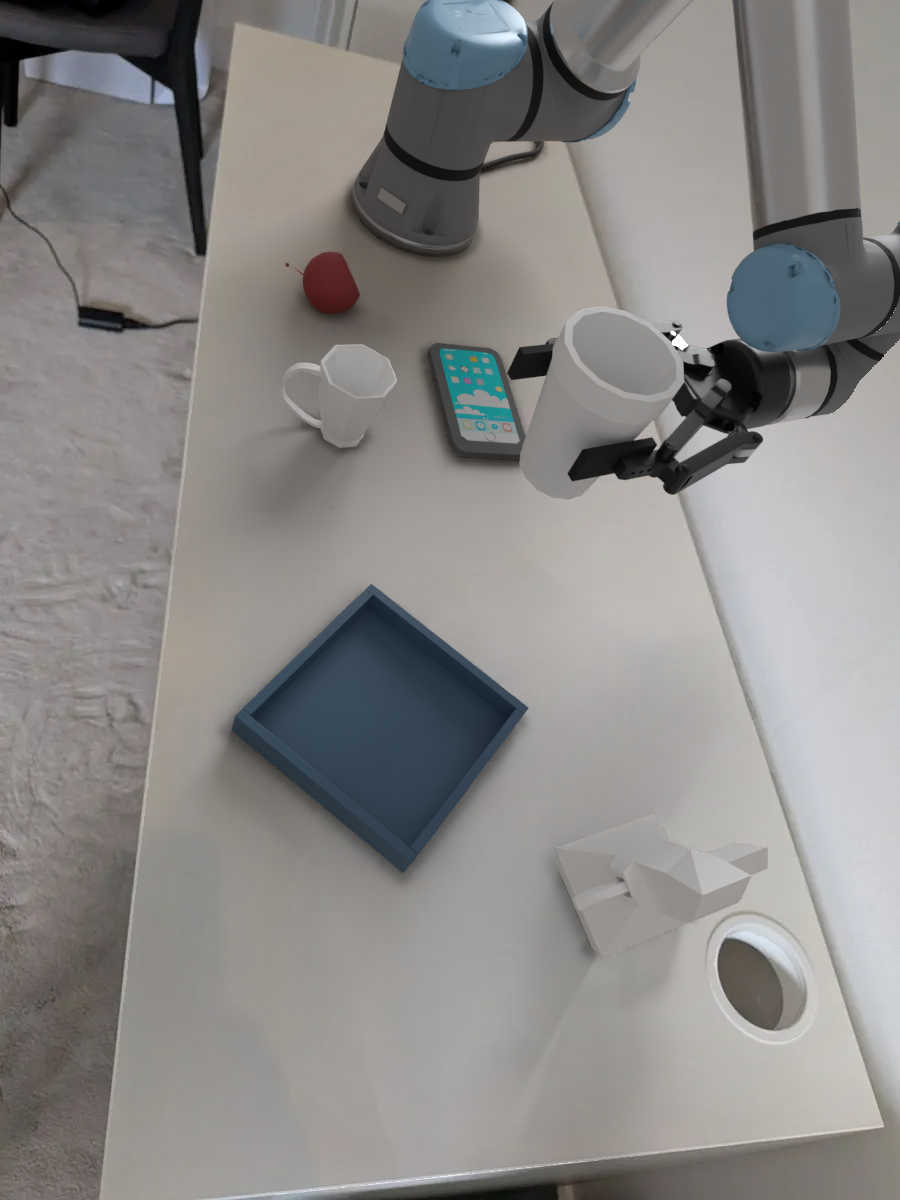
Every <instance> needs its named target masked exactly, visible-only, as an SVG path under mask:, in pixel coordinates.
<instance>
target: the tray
mask: <svg viewBox="0 0 900 1200" xmlns="http://www.w3.org/2000/svg"><path fill="white" fill-rule="evenodd" d="M275 675H276V676H274V677H273V678H272V679H271V680H270V681H269V682H268V683H267V684H266V685H265V686H264V687H263V688H262V689H261V690H260V691H259V692H258V693H256V695H255V696H254V697H252V698H251V700H249V702H247V703H246V704H245V705H244V706H243V707H242V709H240V710H239V711H238V712H237V713H236V714H235V715H234V720H233V722H232V726H231V731H232V732H233V733H234V734H235V735H236V736H237V737H239V739H241V740H242V741H243V742H245V743H246V744H247V745H248V746H250V747H251V748H252V749H253V750H254V751H255V752H257V754H259V755H260V756H261V757H262V758H263V759H265V760H266V761H267V762H268V763H270V764H271V765H272V766H273V767H274V768H276V769H277V770H278V771H279V772H281V773H282V774H283V775H284V776H285V777H286V778H288V779H289V780H291V782H293V784H295V785H296V786H298V787H299V788H300V789H301V790H302V791H303V792H305V793H306V794H307V795H308V796H309V797H311V799H313V800H314V801H316V802H317V803H318V804H319V805H320V806H321V807H322V808H323V809H325V810H326V811H327V812H328V813H330V814H331V815H332V816H333V817H335V818H336V819H337V820H338V821H339V822H340V823H342V825H344V826H346V828H348V830H350V831H352V833H354V834H355V835H356V836H358V838H359V839H361V840H362V841H363V842H365V843H366V845H368V846H369V847H371V848H372V849H373V850H374V851H376V852H377V853H378V854H379V855H380V856H382V858H384V859H385V860H387V862H388V863H390V864H391V865H392V866H394V867H395V868H396V869H397V870H398V871H399V872H401V873H402V874H404V873H405V872H406V871H407V870H408V869H409V867H411V865H412V864H413V863H414V862H415V861H416V859H417V858H418V856H419V855H420V854H421V853H422V851H423V850H424V848H425V847H426V846H427V845H428V843H429V842H430V841H431V839H432V838H433V836H434V835H435V834H436V833H437V831H438V830H439V829H440V827H441V826H442V825H443V823H444V822H445V821H446V819H447V818H448V817H449V815H450V814H451V812H452V811H453V810H454V808H455V807H456V806H457V804H458V803H459V802H460V801H461V799H462V798H463V797H464V795H466V792H468V790H469V789H470V787H471V786H472V785H473V783H474V782H475V781H476V779H477V778H478V777H479V775H480V774H481V772H482V771H483V770H484V769H485V767H486V766H487V764H488V763H489V762H490V761H491V759H492V758H493V757H494V755H495V754H496V752H497V751H498V750H499V749H500V747H501V746H502V745H503V743H504V742H505V741H506V739H507V738H508V737H509V736H510V734H511V733H512V731H513V730H514V729H515V727H516V726H517V725H518V723H519V722H520V720H521V719H522V718H523V717H524V715H526V713H527V711H528V710H529V706H527V705H526V704H525V703H523V702H522V701H521V700H520V699H519V698H517V697H516V696H515V695H513V694H512V693H511V692H510V691H508V690H507V689H506V688H504V687H503V686H502V685H501V684H499V683H498V682H497V681H495V680H494V678H492V677H491V676H490V675H488V674H487V673H486V672H484V671H483V669H480V668H479V667H478V666H477V665H475V664H474V663H473V662H472V661H470V660H469V659H468V658H466V657H465V656H464V655H463V654H461V653H460V652H459V651H458V650H457V649H455V648H454V647H453V646H452V645H450V644H449V643H447V642H446V640H444V639H443V638H441V637H440V636H438V635H437V634H436V633H435V632H434V631H432V630H431V629H430V628H428V627H427V626H426V625H425V624H423V623H422V622H421V621H420V620H418V619H417V618H416V617H415V616H413V615H412V614H411V613H410V612H408V611H407V610H406V609H404V608H403V607H402V606H400V605H399V604H398V603H397V602H396V601H394V600H393V599H392V598H391V597H389V595H387V594H385V593H384V592H383V591H382V590H380V589H379V588H378V587H377V586H375V585H374V584H373V583H371V584H369V585H368V586H367V587H366V588H365V589H364V590H363V591H362V592H361V593H360V594H359V595H357V597H356V598H355V599H354V600H353V601H352V602H351V603H350V604H349V605H348V606H346V607H345V608H344V609H343V610H342V611H341V612H340V613H339V614H338V615H337V616H336V617H335V618H334V619H333V620H332V621H331V622H330V623H329V624H328V625H326V627H325V628H324V629H323V630H322V631H320V633H319V634H318V635H317V636H315V637H314V638H313V639H312V640H311V641H310V642H309V643H308V644H307V645H306V646H305V647H304V648H303V649H302V650H301V651H299V653H298V654H297V655H296V656H295V657H293V659H292V660H291V661H290V662H289V663H288V664H286V665H285V666H284V668H282V670H281V671H279V672H278V674H275Z"/></svg>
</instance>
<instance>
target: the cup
mask: <svg viewBox="0 0 900 1200" xmlns="http://www.w3.org/2000/svg"><path fill="white" fill-rule="evenodd" d="M299 372H306V373H309V374H311V375H313V376H316V377H318V378H319V387H318V388H319V389H318V407H319V414H320V415H319V416H320V419H316V418H315V417H312V416H311V415H309V414H308V413H306V412H305V411H304V410H302V409H301V407H299V406H298V405H297V404H296V403H294V401H292V400H291V398H290V397H289V396H288V395H287V394H286V390H285V385H286V383H287V381H288V379H289V378H290V377H291V376H292V375H295V374H297V373H299ZM282 376H283V377H282V378H281V382H280V384H279V390H278V391H279V395H280V400H281V401H282V403H283V404H284V406H285V407H286V408H287V409H289V411H290V412H292V413H293V414H294V415H295V416H296V417H298V418H299V419H300V420H301V421H303V422H304V423H306V424H308V425H309V426H311V427H313V428H317V429H320V433H321V435H322V438H323V440H324V441H326V442H328V443H330V444H332V445H333V446H335V447H337V448H339V449H343V448H356V447H357V446H358V445H359V444H360V442H361V441H362V440H363V438H364V437H365V435H366V431H367V430H368V429H369V428H370V426H371V425H372V423H373V422H374V421H375V419H376V418H377V417H378V416H379V415H380V413H381V410H382V409H383V407H384V406H385V404H386V401H387V399H388V398H389V397H390V395H391V393H392V391H394V388H395V386H396V385H397V382H398V378H397V376H396V373H395V371H394V368H393V366H392V364H391V361H390V359H389V358H388V357H386V356H384V355H383V354H381V353H379V352H377V351H376V350H374V349H373V348H370V347H369V346H367V345H365V344H357V343H356V344H334V345H333V347H332V348H331V349H330V350H329V351H328V352H327V353H326V354H325V356H323V357H322V359H320V364H317V363H312V362H297V363H295V364H293V365H291V366H290V367H288V368H287V370H286V371H285V373H284V374H283V375H282Z"/></svg>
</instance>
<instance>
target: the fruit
mask: <svg viewBox="0 0 900 1200" xmlns="http://www.w3.org/2000/svg"><path fill="white" fill-rule="evenodd" d="M290 266H291V267H292V268H294V269H295V271H297V272H298V273H299V274H300V275H302V288H303V292H304V295H305V297H306V299H307V300H308V302H309V304H310V305H311V306H312V308H314V310H316V311H318V312H321V313H323V314H326V315H327V314H328V315H337V314H342V313H344V312H347V311H348V310H351V308H352V307H354V305H355V304H357V302H358V300H359V298H360V296H361V292H360V290H359V288H358V285H357V283H356V280H355V278H354V277H353V274H352V272H351V269H350V267H349V265H348V263H347V261H346V258H345V256H344V254H343V253H341V252H338V251H324V252H321V253H319V254H317V255H315V256H314V257H312V258H311V259H310V261H309V262H308V263H307V264H306V266H305V268H304V270H303V272H301V271H300V270H298V269H297V268H296V267H294V266H293V265H290V263H289V262H286V263H285V267H286V268H289V267H290Z"/></svg>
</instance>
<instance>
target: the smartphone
mask: <svg viewBox="0 0 900 1200" xmlns="http://www.w3.org/2000/svg"><path fill="white" fill-rule="evenodd" d="M427 358H428V362H429V366H430V370H431V374H432V375H431V376H432V378H433V383H434V386H435V390H436V394H437V398H438V402H439V406H440V409H441V414H442V418H443V422H444V426H445V429H446V433H447V437H448V443H449V444H450V445H451V448H452V450H453V452H454V453H455V454H456V455H458V456H459V457H462V458H475V459H492V460H493V459H495V460H515V461H520V453H521V451H522V446H523V443H524V440H525V437H526V434H525V431H524V428H523V425H522V421H521V418H520V414H519V411H518V408H517V405H516V402H515V399H514V395H513V393H512V392H513V391H512V389H511V385H510V383H509V378H508V375H507V372H506V369H505V366H504V362H503V359H502V357H501V356H500V353H499V352H498V351H497V350H495V349H493V348H491V347H483V346H472V345H464V344H463V345H461V344H453V343H443V342H436V343H433V344H431V345H430V346H429V348H428V350H427Z"/></svg>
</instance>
